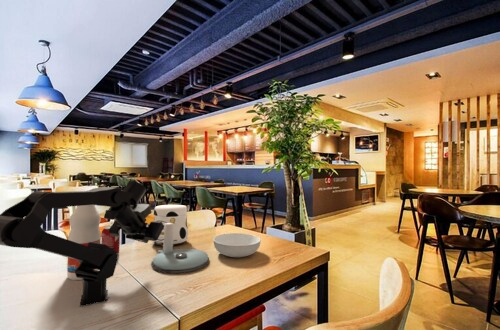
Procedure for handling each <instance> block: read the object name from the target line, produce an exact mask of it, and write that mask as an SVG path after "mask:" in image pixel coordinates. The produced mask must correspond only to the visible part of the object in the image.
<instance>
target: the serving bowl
mask: <svg viewBox="0 0 500 330" xmlns="http://www.w3.org/2000/svg"><path fill="white" fill-rule="evenodd" d="M212 240H213V245H214V248H215V250H216V252H218V253H219V254H221V255H224V256H226V257H231V258H242V257H243V258H244V257H247V256H251V255H253V254H255V253H256V252H257V251H258V250H259V248H260V246H261V238H260V237H259V236H258V235H254V234H250V233H241V232H230V233H229V232H228V233H227V232H226V233H222V234H218V235H216V236H214V237H213V239H212Z"/></svg>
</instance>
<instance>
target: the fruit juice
mask: <svg viewBox="0 0 500 330" xmlns="http://www.w3.org/2000/svg"><path fill="white" fill-rule="evenodd" d="M101 217H102V216H101V214H100V212H99V211H98V209H97V208H96V205H83V206H75V210H74V211H73V213H72V214H71V215H70V217H69V226H70V231H69V232H68V237H67V240H70V241H73V242H76V243H79V244H82V245H85V246H88V243H89V242H92V243H99V244H101V238H102V231H101V229H100V223H101V221H102V218H101ZM79 265H80V262H79V261H78V260H76V259H72V258H68V257H67V266H66V267H67V268H66V269H67V272H66V275H67V278H68V279H69V280H70V281H71V280H72V281H79V280H80V281H81V280H82V281H83V278H77V277H76V274H75V270H76V269H77V268H78V266H79ZM93 270H97V271H100V270H98V269H93Z"/></svg>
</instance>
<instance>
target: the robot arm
mask: <svg viewBox="0 0 500 330" xmlns="http://www.w3.org/2000/svg"><path fill="white" fill-rule="evenodd" d="M146 192H147V188H146V186H145V185H143V184H141V183H140V182H138V181H136V180H135V179H130V180H129V181H128V182H127V184H126V185H125V187H124V188H123V189H122V188H120V187H115V186H114V187H111V186H109V187H108V186H100V187H94V188H92V189H89V190H79V191H78V190H77V191H75V190H74V191H73V190H72V191H43V190H42V191H41V190H38V191H33V192H32V193H29V194H28V195H27V196H26V197H25V198H23V200H21V201H19V202H17V203H16V204H14V205H12V206H9V208H6V209H5V210H3V211H2V213H0V246H4V247H11V248H18V249H19V248H20V249H21V248H22V249H36V250H40V251H43V252H47V253H51V254H54V255H58V256H62V257H66V258H67V259H68V258H72V259H76V260H78V261H79V262H80V265H79V266H78V268H77V269H76V270H75V274H76V277H77V278H83V280H82V294H81V298H80V302H79V307H85V306H89V305H93V304H98V303H104V302H107V301H108V299H109V297H108V293H109V291H108V289H107V279H109V278H112V277H113V276H114V274H115V271H116V268H117V267H116V266H117V264H118V259H119V258H118V255H119V254H118V253H117V252H116V251H115V250H114V249H115V248H114V247H108V246H107V245H105V244H99V243H92V242H89V243H88V246H85V245H82V244H79V243H76V242H73V241H70V240H68V238H67V239H66V238H64V237H61V236H58V235H55V234H52V233H49V232H46V230H45V229H44V228H43V227H42V225H44V223H45V221H46V220H47V217H48V215H49V213H50V211H52V210H53V209H55V208H57V209H58V208H68V207H69V208H70V207H77V206H83V205H95V206H99V207H109V208H108V209H106V210H105V213H104V215H103V219H104V220H105V219H106V220H112V221H113V223H112V226H111V227H110V229H109V234H110V235H111V236H117V237H118V236H119V233H118V232H119V230H120V231H121V230H123V231H122V233H123V235H125V239H128V240H133V241H136V242H141V243H143V244H148V242H149V241H152V242H153V241H156V240H158V238H159V236H160V234H161V232H162V230H163V228H164V225H163V223H162V222H156V221H154V220H152V221H150V222H149V223H148V222H146V221H147V217H148V216H149V215H151V214H152V209H151V206H150V204H149V203H139V202H140V201H141V199H142V198H143V196H144V195H145V193H146ZM93 269H98V270H99V271H97V270H93Z"/></svg>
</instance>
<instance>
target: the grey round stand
mask: <svg viewBox="0 0 500 330" xmlns="http://www.w3.org/2000/svg"><path fill="white" fill-rule="evenodd" d="M178 253H186V254H187V257H185V258H176V257H175V255H176V254H178ZM208 257H209V254H208V253H207V252H206V251H203V250H201V249H196V248H175V249H174V246H173V223H165V224H164V250H163V249H160V250H157V254H156V255H154V257H153V258H152V261H153V264H154V266H156V267H158V268H161V269H165V270H185V269H191V268H195V267H198V266H201V265H203V264H204V263H206V262H207V260H208Z"/></svg>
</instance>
